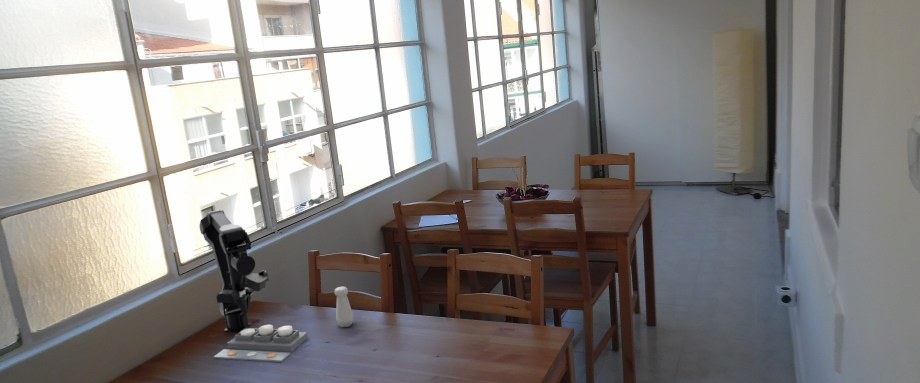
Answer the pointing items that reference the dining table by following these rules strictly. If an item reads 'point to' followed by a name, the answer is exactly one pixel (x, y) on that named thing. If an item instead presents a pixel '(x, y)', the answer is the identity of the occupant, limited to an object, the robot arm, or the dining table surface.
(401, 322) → the dining table surface
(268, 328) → the button middle
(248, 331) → the button left
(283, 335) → the button right
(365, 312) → the dining table surface
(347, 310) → the salt shaker
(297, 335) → the button board
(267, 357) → the pattern card
